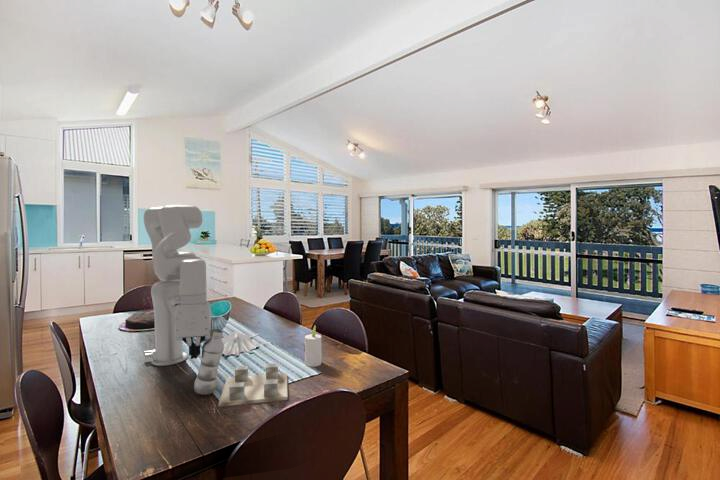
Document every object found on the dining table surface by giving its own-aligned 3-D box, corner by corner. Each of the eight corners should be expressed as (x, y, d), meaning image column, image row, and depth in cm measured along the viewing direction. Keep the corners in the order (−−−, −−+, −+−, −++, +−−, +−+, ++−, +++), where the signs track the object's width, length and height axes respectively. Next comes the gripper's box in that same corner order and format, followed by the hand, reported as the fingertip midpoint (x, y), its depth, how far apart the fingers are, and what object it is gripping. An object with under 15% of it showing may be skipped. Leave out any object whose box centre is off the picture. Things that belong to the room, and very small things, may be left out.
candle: (304, 360, 142) (304, 322, 142) (321, 360, 143) (321, 322, 142) (303, 366, 136) (303, 327, 135) (321, 366, 137) (321, 327, 136)
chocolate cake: (123, 336, 172) (123, 323, 172) (114, 324, 193) (114, 311, 193) (186, 325, 191) (186, 313, 191) (171, 315, 212) (171, 304, 211)
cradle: (218, 406, 107) (218, 390, 107) (227, 380, 124) (227, 366, 124) (287, 399, 111) (287, 383, 111) (286, 375, 129) (286, 361, 128)
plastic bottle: (206, 399, 111) (221, 336, 110) (187, 393, 112) (201, 330, 112) (218, 391, 117) (232, 331, 117) (200, 385, 118) (213, 326, 118)
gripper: (163, 302, 107) (164, 363, 108) (216, 300, 110) (217, 359, 111) (171, 297, 114) (172, 354, 115) (221, 295, 117) (222, 351, 118)
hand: (194, 357), depth 113 cm, fingers closed
